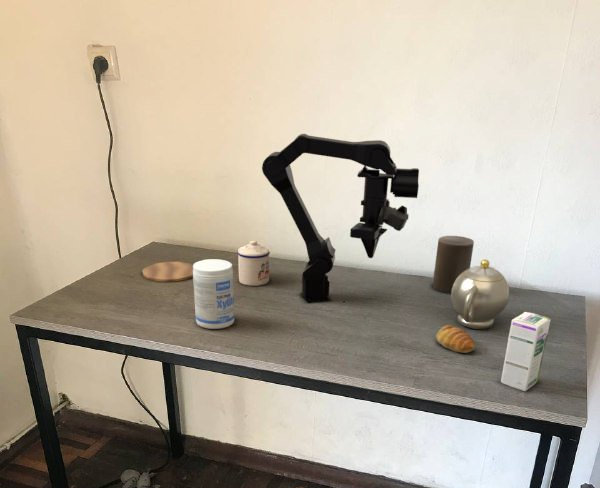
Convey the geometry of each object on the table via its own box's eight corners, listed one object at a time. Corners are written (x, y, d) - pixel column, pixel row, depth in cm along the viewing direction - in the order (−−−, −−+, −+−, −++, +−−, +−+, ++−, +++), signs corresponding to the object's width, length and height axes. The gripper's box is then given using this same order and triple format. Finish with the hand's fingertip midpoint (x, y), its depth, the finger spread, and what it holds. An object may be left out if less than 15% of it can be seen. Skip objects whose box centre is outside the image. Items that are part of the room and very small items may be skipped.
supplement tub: (225, 332, 152) (222, 273, 144) (189, 327, 154) (184, 268, 147) (240, 318, 160) (239, 260, 152) (206, 313, 162) (202, 256, 155)
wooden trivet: (145, 284, 179) (145, 281, 179) (140, 266, 193) (140, 263, 192) (201, 279, 184) (201, 276, 183) (193, 262, 197) (193, 259, 196)
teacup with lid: (263, 288, 178) (263, 247, 172) (233, 284, 180) (232, 243, 175) (277, 274, 188) (277, 235, 182) (248, 271, 190) (247, 232, 185)
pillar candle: (445, 295, 176) (452, 241, 168) (425, 284, 184) (432, 232, 176) (474, 291, 179) (482, 238, 172) (453, 280, 187) (461, 229, 180)
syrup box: (525, 392, 129) (540, 326, 122) (498, 382, 132) (511, 318, 125) (537, 382, 133) (552, 318, 125) (511, 373, 136) (524, 310, 129)
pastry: (481, 351, 146) (484, 335, 144) (459, 357, 142) (462, 342, 141) (453, 336, 152) (455, 321, 150) (431, 342, 149) (433, 327, 147)
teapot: (458, 308, 168) (467, 247, 160) (510, 319, 162) (522, 256, 154) (434, 331, 154) (442, 266, 146) (489, 344, 149) (501, 277, 140)
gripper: (396, 207, 147) (390, 272, 155) (416, 192, 162) (410, 252, 170) (351, 202, 151) (347, 266, 159) (374, 187, 166) (370, 246, 174)
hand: (370, 257), depth 165 cm, fingers closed
